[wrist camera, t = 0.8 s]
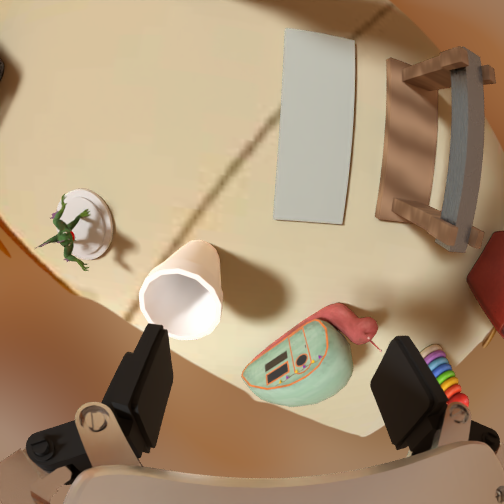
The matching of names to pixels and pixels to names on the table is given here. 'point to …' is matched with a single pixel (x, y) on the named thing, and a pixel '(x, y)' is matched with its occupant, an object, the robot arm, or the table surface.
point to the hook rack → (417, 142)
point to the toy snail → (309, 358)
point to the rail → (464, 151)
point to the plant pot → (490, 281)
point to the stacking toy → (444, 373)
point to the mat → (315, 127)
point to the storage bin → (1, 68)
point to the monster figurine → (82, 226)
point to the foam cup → (185, 292)
